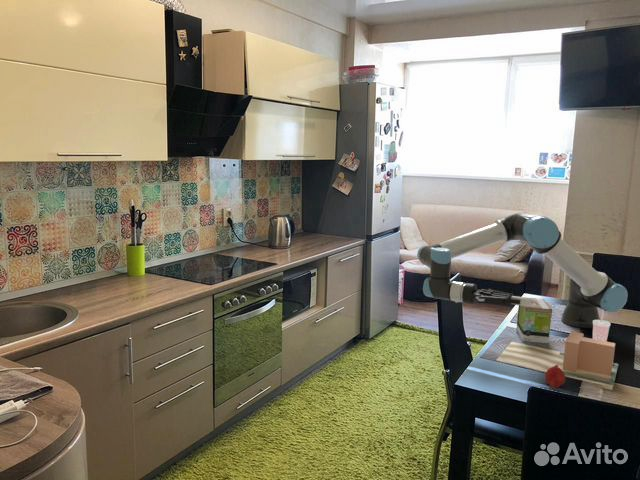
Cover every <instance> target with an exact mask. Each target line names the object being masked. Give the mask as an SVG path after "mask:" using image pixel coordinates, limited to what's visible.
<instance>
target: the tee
mask: <svg viewBox="0 0 640 480" xmlns="http://www.w3.org/2000/svg"><path fill="white" fill-rule="evenodd" d="M564 344H565V346H564V361H563V370H567V371H571V372H576V370H577V368H578V369H582V370H587V371H591V372H596V373H600V374H605V375H609V376H611V373H612V367H613V363H614V359H615V358H614V357H615V350H616V343H615V342H611V341H607V342H606V341H601V340H595V339H593V338H589V337H585V336H584V333H582V332H576V331H573V330H571V331H570V332H569V335H568V337H567V338H566V340H565V342H564Z"/></svg>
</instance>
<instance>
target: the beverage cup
mask: <svg viewBox="0 0 640 480" xmlns="http://www.w3.org/2000/svg"><path fill="white" fill-rule="evenodd" d="M604 313H605V311H604V310H603V309H601V318H600V320H593V328H592V339H595V340H601V341H606V342H608V336H609V331H610V327H611V322H609V321H607V320H603V319H604Z"/></svg>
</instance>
